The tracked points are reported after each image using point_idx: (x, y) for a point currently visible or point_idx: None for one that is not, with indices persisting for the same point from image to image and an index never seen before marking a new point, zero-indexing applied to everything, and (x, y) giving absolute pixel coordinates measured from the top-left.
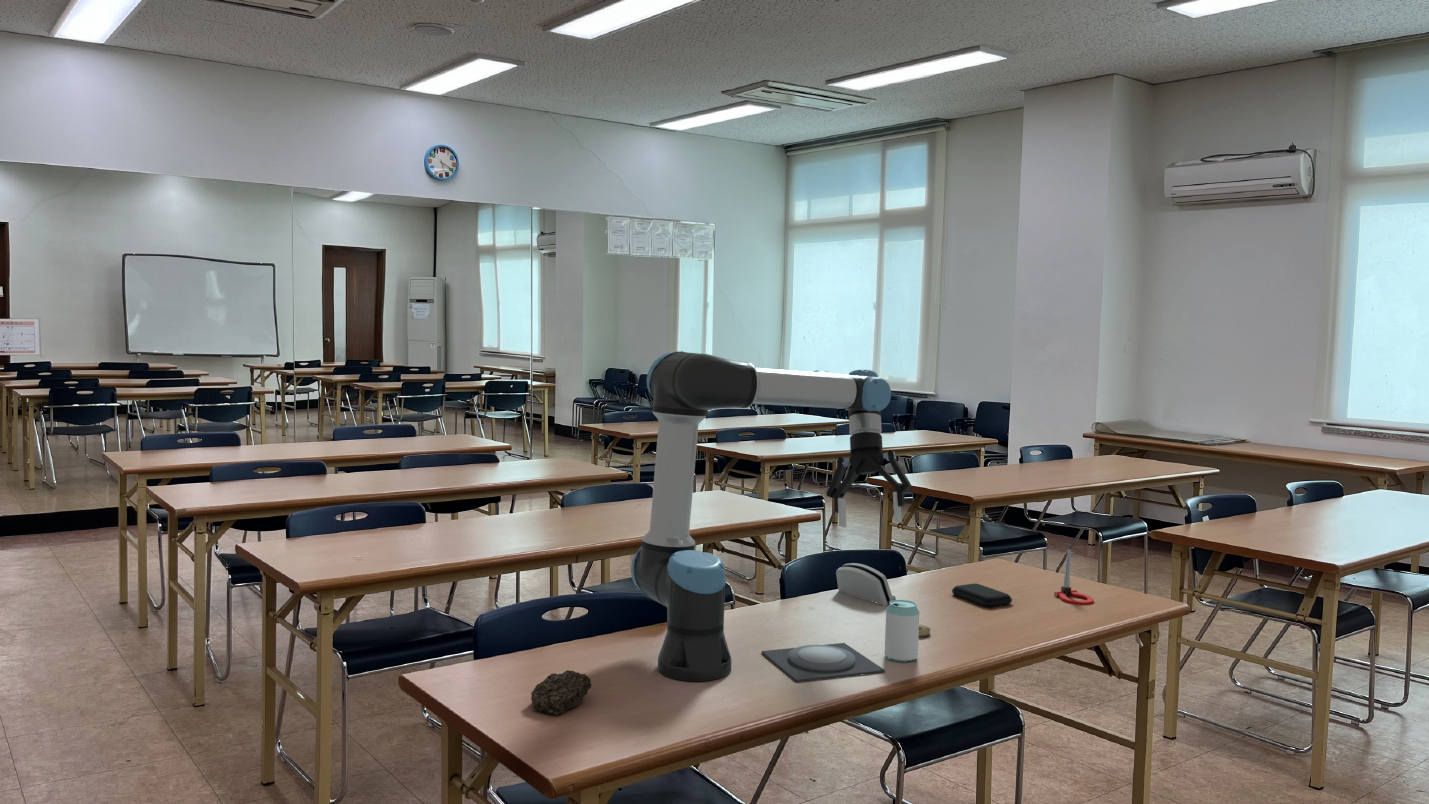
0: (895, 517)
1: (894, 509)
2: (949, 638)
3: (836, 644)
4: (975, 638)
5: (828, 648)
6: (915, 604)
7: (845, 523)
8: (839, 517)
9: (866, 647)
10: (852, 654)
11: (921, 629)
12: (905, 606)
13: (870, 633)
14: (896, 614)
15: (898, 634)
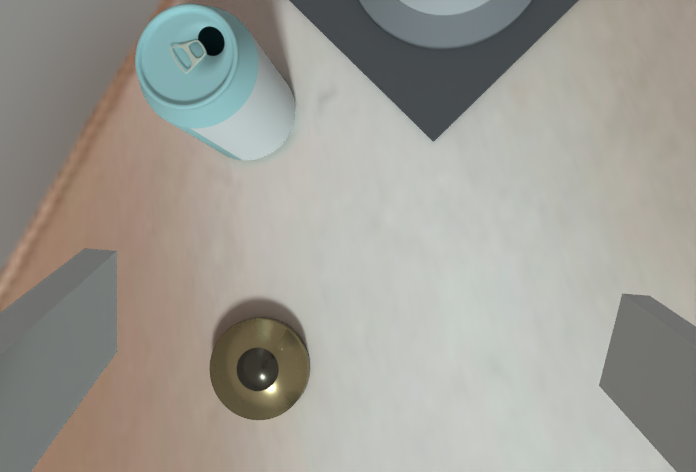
0: (95, 260)
1: (68, 289)
2: (157, 362)
3: (450, 111)
4: (87, 399)
5: (445, 3)
6: (141, 72)
7: (618, 386)
8: (686, 325)
9: (364, 153)
10: (366, 3)
11: (235, 363)
12: (174, 38)
13: (390, 295)
14: (207, 6)
15: (222, 35)
